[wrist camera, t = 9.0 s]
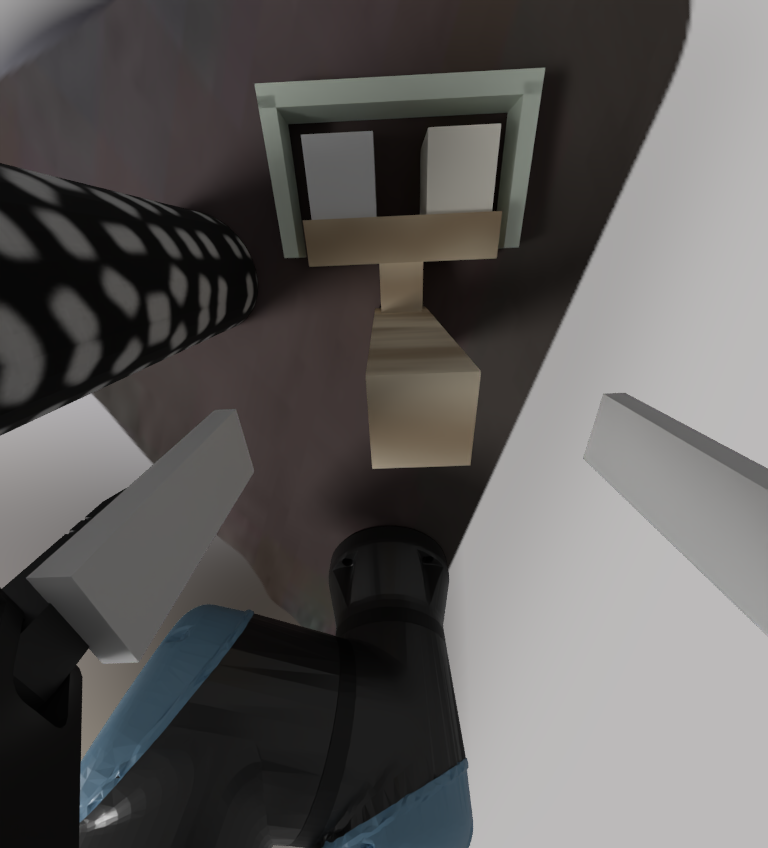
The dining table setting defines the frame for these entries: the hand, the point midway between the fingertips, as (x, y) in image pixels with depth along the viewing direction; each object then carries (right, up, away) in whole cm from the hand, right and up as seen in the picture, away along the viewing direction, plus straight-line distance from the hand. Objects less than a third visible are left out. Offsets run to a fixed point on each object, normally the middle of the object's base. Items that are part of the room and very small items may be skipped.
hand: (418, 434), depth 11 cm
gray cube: (-4, +17, +10) cm, 20 cm away
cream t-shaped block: (0, +11, +13) cm, 17 cm away
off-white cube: (+3, +17, +10) cm, 20 cm away
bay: (0, +17, +10) cm, 19 cm away
